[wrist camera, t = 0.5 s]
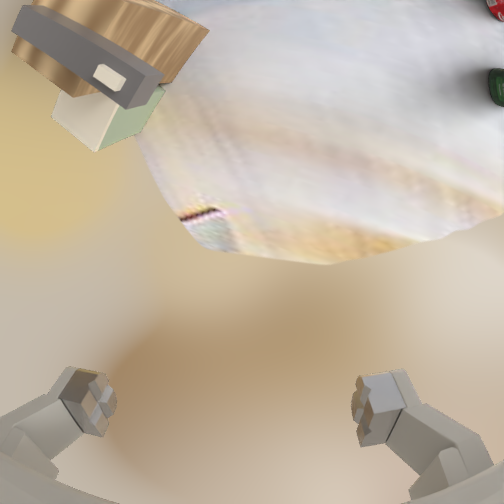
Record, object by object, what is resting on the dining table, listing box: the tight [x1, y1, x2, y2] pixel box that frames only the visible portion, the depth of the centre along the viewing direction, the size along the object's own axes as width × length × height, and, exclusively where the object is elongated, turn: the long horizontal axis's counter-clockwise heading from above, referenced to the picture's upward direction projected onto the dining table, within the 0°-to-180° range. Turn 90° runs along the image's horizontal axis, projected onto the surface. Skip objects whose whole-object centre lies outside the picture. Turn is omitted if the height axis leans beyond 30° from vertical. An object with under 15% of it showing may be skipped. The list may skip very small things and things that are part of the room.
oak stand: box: [12, 0, 210, 98], centre depth 30 cm, size 16×12×26 cm
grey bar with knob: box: [12, 5, 164, 110], centre depth 19 cm, size 22×4×4 cm, turn 52°
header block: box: [51, 86, 165, 152], centre depth 42 cm, size 12×10×15 cm
